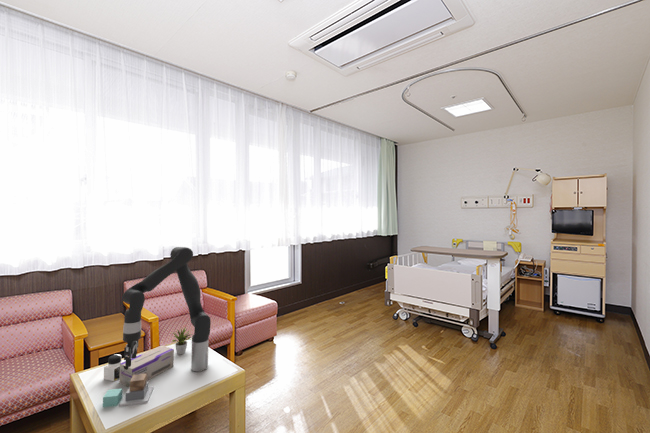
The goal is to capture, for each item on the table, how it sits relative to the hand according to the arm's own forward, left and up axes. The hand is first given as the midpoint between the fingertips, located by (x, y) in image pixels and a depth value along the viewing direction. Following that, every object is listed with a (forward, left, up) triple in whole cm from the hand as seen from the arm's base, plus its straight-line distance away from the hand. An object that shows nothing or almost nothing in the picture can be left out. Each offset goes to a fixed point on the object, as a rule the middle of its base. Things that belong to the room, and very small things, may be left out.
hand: (131, 362), depth 149 cm
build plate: (-3, -1, -19) cm, 19 cm away
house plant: (-16, -44, -19) cm, 50 cm away
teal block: (+7, +1, -19) cm, 20 cm away
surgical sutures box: (-3, -22, -19) cm, 29 cm away
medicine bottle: (+14, -23, -19) cm, 33 cm away
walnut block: (-3, -1, -14) cm, 14 cm away
